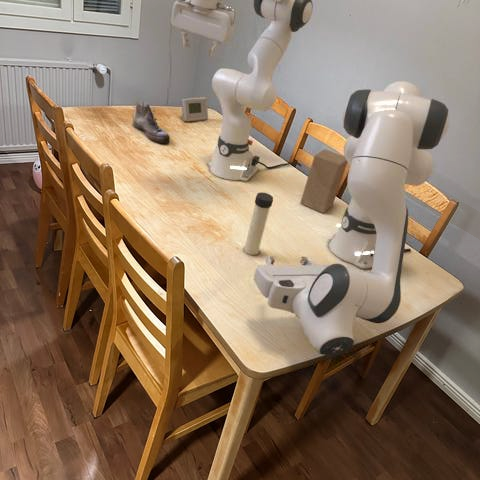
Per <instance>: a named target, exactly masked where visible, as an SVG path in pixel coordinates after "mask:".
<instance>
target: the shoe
mask: <svg viewBox="0 0 480 480" xmlns="http://www.w3.org/2000/svg"><path fill="white" fill-rule="evenodd" d="M153 112H154V113H157V111H156V110H155V109H152V108H151V107H150V104H148V103H144V101H143V102H142V103H139V102H138V101H137V102H136V105H135V110H134V113H133V117H132V125H133V126H134V127H135V128H137V129H139V131H142V132H144V133H145V134H146V137H147V138H148V139H149V140H150V141H152V142H155V143H158V144H164V145H166V144H169V143H170V138H171V137H170V135H169V133H168V132H167V131H165V129H163V128H162V127H160V126H159V125H158V122H157V120H158V119H157V118H155V116H154V113H153Z"/></svg>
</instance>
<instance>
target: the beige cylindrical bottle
mask: <svg viewBox="0 0 480 480" xmlns="http://www.w3.org/2000/svg"><path fill="white" fill-rule="evenodd" d="M270 209H271V207H270V208H262V207H259V206H257V205H256V204H255V203H254V208H253V212H252V216H251V221H250V225H249V229H248V233H247V237H246V241H245V245H244V252H245V253H246V254H248V255H251V256H256V255H258V254H259V251H260V247H261V243H262V240H263V235H264V232H265V228H266V225H267V221H268V217H269V213H270Z"/></svg>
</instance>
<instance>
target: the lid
mask: <svg viewBox="0 0 480 480" xmlns="http://www.w3.org/2000/svg"><path fill="white" fill-rule="evenodd" d="M273 201H274V197H273V195H272V194H270V193H268V192H258V193H256V195H255V199H254V205H255V204H256V205H257V206H259V207H262V208H270V209H271V207H272V206H273Z"/></svg>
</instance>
